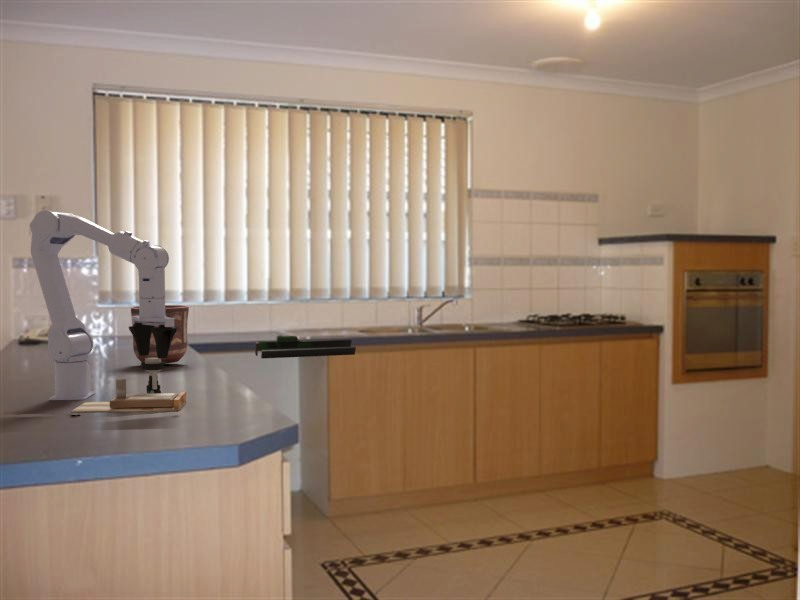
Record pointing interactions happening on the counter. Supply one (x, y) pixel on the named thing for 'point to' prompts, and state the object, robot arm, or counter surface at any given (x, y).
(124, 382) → the carriage
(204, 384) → the counter surface
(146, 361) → the push button
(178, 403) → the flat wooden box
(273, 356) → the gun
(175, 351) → the pottery
